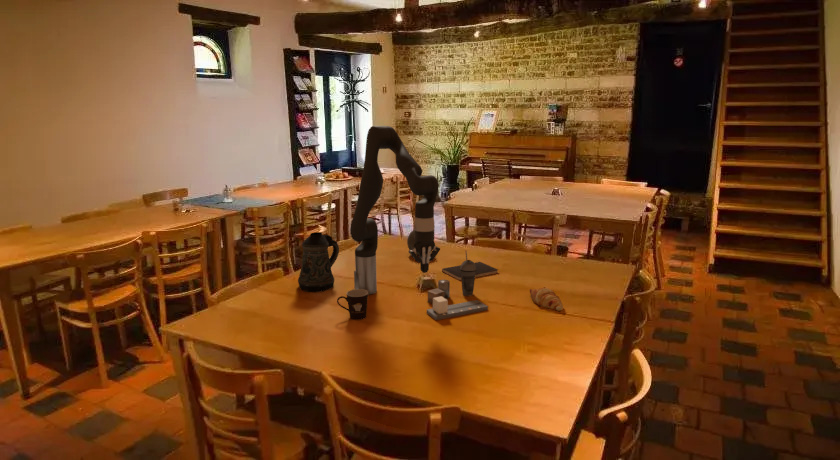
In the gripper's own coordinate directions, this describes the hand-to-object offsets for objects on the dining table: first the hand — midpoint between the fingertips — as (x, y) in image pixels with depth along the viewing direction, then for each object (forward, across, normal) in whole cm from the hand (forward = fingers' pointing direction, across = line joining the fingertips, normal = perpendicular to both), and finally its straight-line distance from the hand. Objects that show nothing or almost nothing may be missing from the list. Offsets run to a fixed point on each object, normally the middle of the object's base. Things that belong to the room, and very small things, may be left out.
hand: (424, 272), depth 203 cm
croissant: (+19, -52, +9) cm, 57 cm away
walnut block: (+19, -12, -13) cm, 26 cm away
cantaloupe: (+19, -37, -79) cm, 89 cm away
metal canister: (+19, -18, -17) cm, 31 cm away
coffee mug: (+19, +24, -14) cm, 34 cm away
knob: (+17, -7, 0) cm, 19 cm away
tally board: (+19, -15, 0) cm, 24 cm away
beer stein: (+19, +27, -56) cm, 65 cm away
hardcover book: (+20, -46, -41) cm, 65 cm away
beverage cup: (+19, -29, -15) cm, 38 cm away
